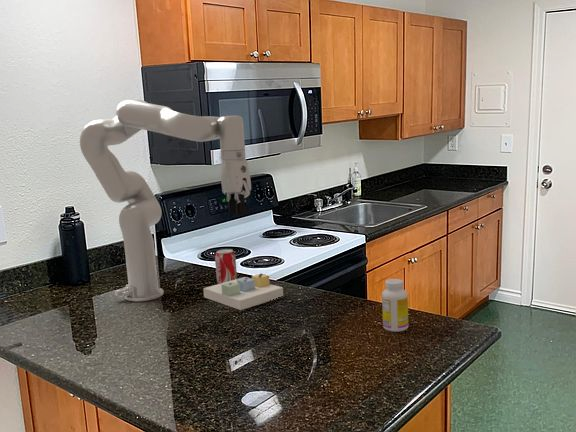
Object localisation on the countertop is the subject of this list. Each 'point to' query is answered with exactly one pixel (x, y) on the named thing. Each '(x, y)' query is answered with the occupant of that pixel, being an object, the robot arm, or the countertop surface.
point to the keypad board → (243, 295)
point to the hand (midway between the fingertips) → (237, 213)
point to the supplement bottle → (395, 306)
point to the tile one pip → (230, 289)
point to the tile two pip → (246, 284)
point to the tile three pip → (261, 280)
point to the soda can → (225, 266)
